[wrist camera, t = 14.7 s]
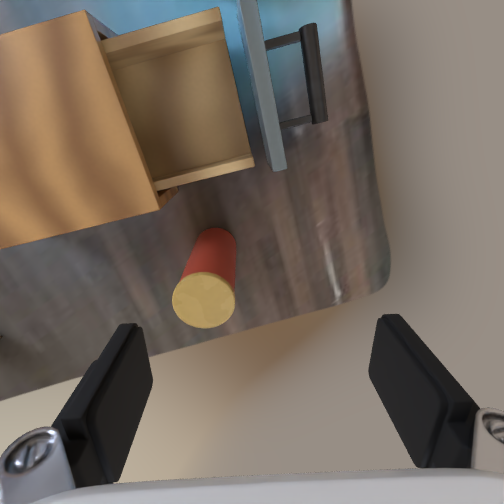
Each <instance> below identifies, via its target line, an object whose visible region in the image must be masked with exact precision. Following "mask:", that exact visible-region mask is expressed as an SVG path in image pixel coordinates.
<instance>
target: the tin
mask: <svg viewBox="0 0 504 504" xmlns="http://www.w3.org/2000/svg"><path fill="white" fill-rule="evenodd" d="M235 267H236V242H235V239H234V237H233V236H232V235H231V234H230V233H229V232H228V231H226V230H224V229H221V228H209V229H207V230H205V231H203V232H202V233H201V234H200V235H199V236H198V238H197V240H196V243H195V245H194V247H193V250H192V252H191V255H190V257H189V260H188V262H187V264H186V267H185V269H184V272H183V274H182V277H181V279H180V281H179V283H178V284H177V286H176V288H175V290H174V293H173V297H172V304H173V308H174V310H175V312H176V314H177V315H178V317H179V318H180V319H181V320H183V321H184V322H185V323H187V324H189V325H191V326H194V327H198V328H212V327H216V326H218V325H221V324H222V323H224V322H225V321H227V320H228V319H229V317H230V316H231V315H232V313H233V311H234V307H235V294H234V288H235Z"/></svg>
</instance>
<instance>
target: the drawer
mask: <svg viewBox="0 0 504 504" xmlns="http://www.w3.org/2000/svg"><path fill="white" fill-rule="evenodd" d="M236 2H237V19H238V24H239V29H240V33H241V38H242V43H243V48H244V53H245V57H246V62H247V67H248V72H249V77H250V81H251V86H252V91H253V96H254V101H255V105H256V110H257V115H258V120H259V125H260V129H261V134H262V139H263V144H264V149H265V153H266V158H267V163H268V165H269V166H270V168H271V169H272V170H273V172H277V171H281V170H285V169H287V163H286V157H285V152H284V147H283V141H282V136H281V130H283V129H287V128H291V127H295V126H299V125H303V124H306V123H310V122H312V124H317V123H321V122H325V121H328V114H327V106H326V97H325V89H324V81H323V72H322V64H321V56H320V47H319V39H318V31H317V24H316V23H310V24H307V25H304V26H302V27H301V28H300V29H299V31H298V32H294V33H291V34H287V35H284V36H280V37H276V38H273V39H269V40H266V41H264V37H263V32H262V26H261V21H260V15H259V10H258V4H257V0H236ZM298 42H300V43H301V50H302V58H303V65H304V72H305V79H306V86H307V93H308V100H309V107H310V114H311V115H307V116H303V117H300V118H296V119H292V120H288V121H284V122H280V123H279V119H278V114H277V108H276V103H275V97H274V92H273V86H272V81H271V75H270V70H269V65H268V59H267V54H266V51H269V50H272V49H276V48H280V47H283V46H287V45H290V44H294V43H298ZM101 43H102V46H103V48H104V51H105V54H106V56H107V59H108V62H109V64H110V67H111V70H112V73H113V75H114V78H115V81H116V83H117V86H118V89H119V91H120V94H121V97H122V99H123V102H124V105H125V108H126V110H127V113H128V116H129V118H130V121H131V124H132V126H133V129H134V132H135V134H136V137H137V140H138V143H139V145H140V148H141V151H142V153H143V156H144V159H145V161H146V164H147V167H148V170H149V172H150V175H151V178H152V180H153V183H154V186H155V188H156V191H159V190H163V189H167V188H171V187H175V186H179V185H183V184H187V183H191V182H195V181H199V180H203V179H207V178H211V177H215V176H219V175H223V174H227V173H231V172H235V171H239V170H243V169H247V168H251V167H254V166H255V163H254V159H253V156H252V154H251V149H250V145H249V140H248V136H247V132H246V127H245V123H244V118H243V114H242V110H241V105H240V101H239V96H238V92H237V88H236V83H235V79H234V74H233V70H232V65H231V61H230V57H229V52H228V48H227V43H226V39H225V34H224V28H223V22H222V17H221V13H220V9H219V7H215V8H212V9H209V10H205V11H202V12H198V13H195V14H191V15H188V16H184V17H181V18H177V19H174V20H170V21H167V22H164V23H160V24H157V25H153V26H150V27H146V28H143V29H139V30H136V31H132V32H129V33H126V34H122V35H119V36H115V37H112V38H108V39H105V40H101Z"/></svg>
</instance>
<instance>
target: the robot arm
mask: <svg viewBox="0 0 504 504" xmlns="http://www.w3.org/2000/svg"><path fill="white" fill-rule="evenodd" d="M369 377H370V379H371V381H372V383H373V385H374V387H375V389H376V391H377V393H378V395H379V397H380V399H381V401H382V403H383V405H384V407H385V408H386V410H387V412H388V414H389V416H390V418H391V420H392V422H393V424H394V426H395V428H396V430H397V432H398V434H399V436H400V438H401V440H402V441H403V443H404V445H405V447H406V449H407V451H408V453H409V455H410V457H411V459H412V461H413V463H414V464H415V465H416V467H418V468H420V469H387V470H363V471H341V472H340V471H339V472H338V471H337V472H315V473H294V474H272V475H251V476H231V477H213V478H193V479H175V480H157V481H144V482H129V483H116V484H113V482H117V481H118V480H119V478H120V476H121V474H122V471H123V468H124V465H125V462H126V459H127V457H128V454H129V451H130V448H131V445H132V442H133V440H134V437H135V434H136V431H137V428H138V425H139V422H140V420H141V417H142V414H143V411H144V408H145V406H146V403H147V400H148V397H149V394H150V391H151V388H152V383H153V377H152V373H151V368H150V363H149V358H148V353H147V348H146V344H145V339H144V334H143V329H142V327H138V325H137V324H136V323H130V324H120V325H119V326H118V328H117V330H116V331H115V333H114V334H113V336H112V337H111V339H110V341H109V342H108V344H107V345H106V347H105V349H104V350H103V352H102V353H101V355H100V356H99V358H98V360H95V361H94V362H93V363H92V364H91V365H90V367H89V368H88V370H87V371H86V373H85V375H84V376H83V378H82V379H81V381H80V383H79V384H78V385H77V387H76V388H75V390H74V392H73V393H72V395H71V397H70V398H69V399H68V401H67V402H66V404H65V405H64V407H63V409H62V410H61V412H60V413H59V415H58V416H57V418H56V419H55V421H54V422H53V424H52V426H51V427H41V428H37V429H34V430H32V431H29V432H27V433H25V434H24V435H22V436H21V437H19V438H18V439H16V440H15V441H14V442H13V443H12V444H11V445H9V446H8V448H7V449H6V450H5V451H4V453H3V454H2V455H1V457H0V504H504V411H502V410H499V409H496V408H489V407H488V408H481V409H480V408H479V407H478V405H477V404H476V403H475V402H474V400H473V399H472V398H471V397H470V396H469V395H468V393H467V392H466V391H465V390H464V389H463V388H462V386H460V384H459V383H458V382H457V381H456V379H455V378H454V377H453V376H452V375H451V374H450V373H449V371H448V370H447V369H446V368H445V367H444V365H443V364H442V363H441V362H440V361H439V360H438V358H437V357H436V356H435V355H434V354H433V353H432V351H431V350H430V349H429V348H428V347H427V346H426V344H424V342H423V341H422V340H421V339H420V338H419V336H418V335H417V334H416V333H415V332H414V331H413V329H412V328H411V327H410V326H409V325H408V324H407V322H406V321H405V320H404V319H403V318H402V317H401V316H400V315H399V314H384V315H382V317H381V318H379V319H378V321H377V325H376V331H375V336H374V342H373V347H372V353H371V359H370V364H369Z"/></svg>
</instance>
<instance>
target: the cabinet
mask: <svg viewBox="0 0 504 504" xmlns="http://www.w3.org/2000/svg"><path fill="white" fill-rule="evenodd" d="M115 36H118V35H117V34H115V33H114V32H113V31H112V30H110V29H109V28H108V27H106V26H105V25H104V24H102V23H101V22H100V21H98V20H97V19H96V18H95V17H93V16H92V15H91V14H89V13H88V12H87V11H86V10H82V11H78V12H75V13H72V14H68V15H65V16H62V17H58V18H55V19H52V20H48V21H45V22H42V23H38V24H35V25H31V26H28V27H25V28H21V29H18V30H15V31H11V32H8V33H5V34H1V35H0V249H4V248H8V247H12V246H16V245H20V244H24V243H28V242H32V241H36V240H40V239H44V238H48V237H52V236H56V235H60V234H64V233H68V232H72V231H76V230H81V229H85V228H89V227H93V226H97V225H101V224H105V223H109V222H113V221H117V220H121V219H125V218H129V217H133V216H137V215H141V214H145V213H149V212H153V211H157V210H160V209H161V208H162V207H163V206H164V205H165V204H166V203H167V202H168V201H169V200H170V199H171V198H172V197H173V196H174V195H175V194H176V193H177V192H178V188H177V186H175V187H171V188H167V189H163V190H159V191H156V188H155V186H154V183H153V180H152V178H151V175H150V172H149V170H148V167H147V164H146V161H145V159H144V156H143V153H142V151H141V148H140V145H139V143H138V140H137V137H136V134H135V132H134V129H133V126H132V124H131V121H130V118H129V116H128V113H127V110H126V108H125V105H124V102H123V99H122V97H121V94H120V91H119V89H118V86H117V83H116V81H115V78H114V75H113V73H112V70H111V67H110V64H109V62H108V59H107V56H106V54H105V51H104V48H103V46H102V43H101V40H105V39H108V38H112V37H115Z"/></svg>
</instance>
